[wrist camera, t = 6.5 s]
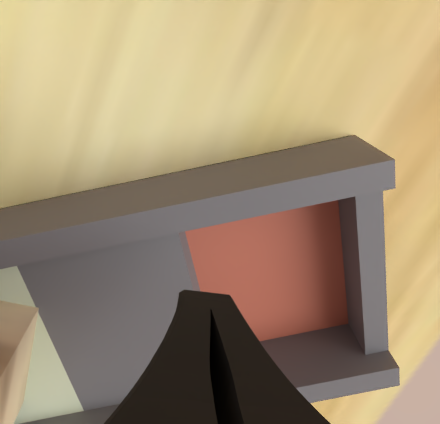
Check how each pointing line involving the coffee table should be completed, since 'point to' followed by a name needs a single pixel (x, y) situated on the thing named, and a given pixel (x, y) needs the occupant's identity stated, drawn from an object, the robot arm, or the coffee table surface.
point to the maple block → (15, 356)
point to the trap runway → (206, 273)
